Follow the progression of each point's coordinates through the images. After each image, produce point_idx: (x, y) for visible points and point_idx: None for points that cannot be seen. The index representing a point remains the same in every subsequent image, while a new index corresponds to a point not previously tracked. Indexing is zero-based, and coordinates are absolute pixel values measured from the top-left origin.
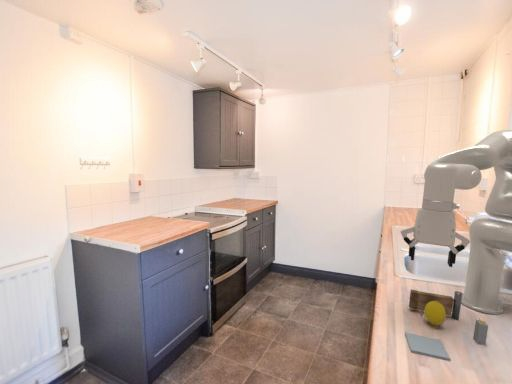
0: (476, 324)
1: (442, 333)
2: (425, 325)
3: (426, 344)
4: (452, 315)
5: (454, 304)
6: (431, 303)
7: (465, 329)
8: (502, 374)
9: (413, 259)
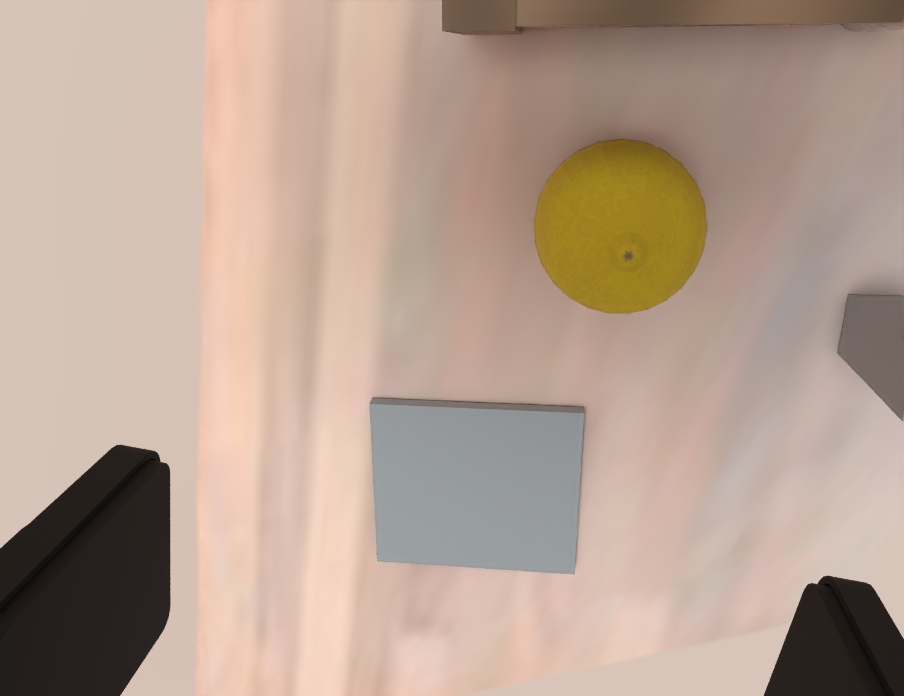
0: (897, 360)
1: None
2: None
3: (476, 491)
4: None
5: None
6: (578, 264)
7: (862, 172)
8: None
9: (153, 632)
